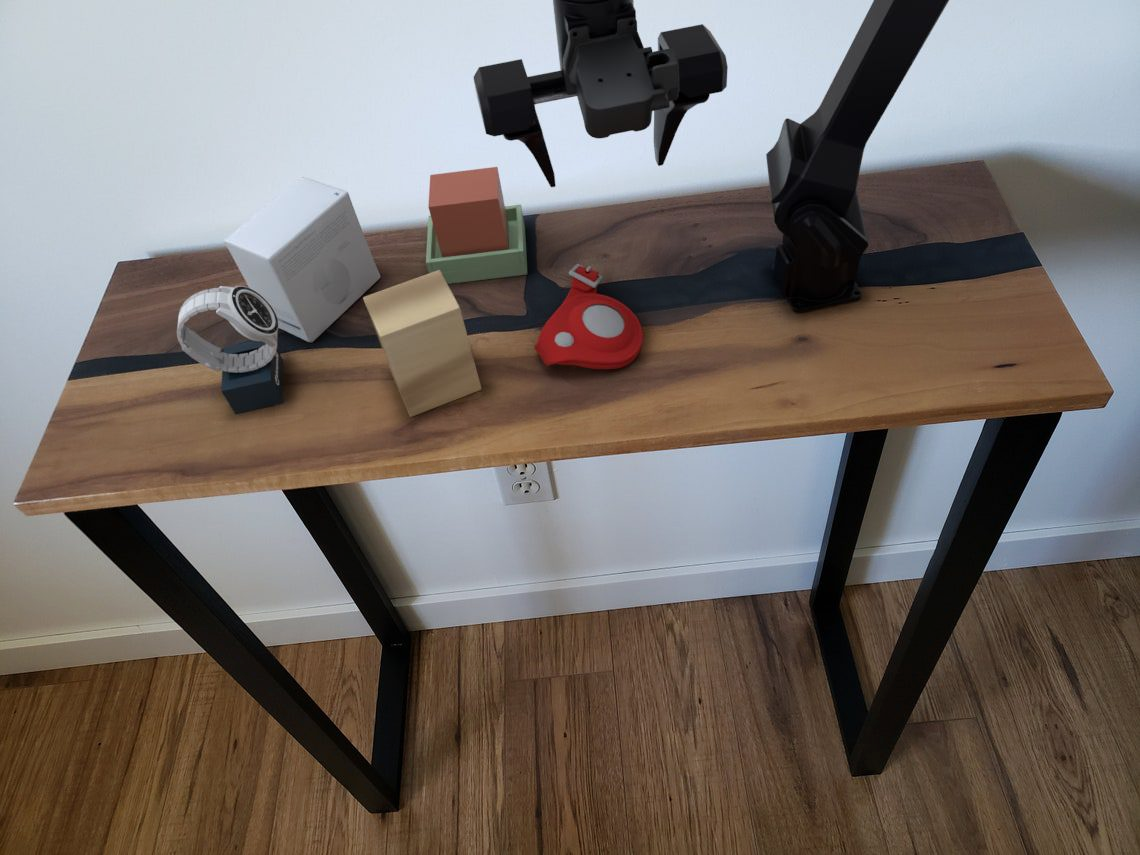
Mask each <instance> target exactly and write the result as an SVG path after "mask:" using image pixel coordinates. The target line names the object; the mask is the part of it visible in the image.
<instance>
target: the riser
mask: <svg viewBox="0 0 1140 855" xmlns="http://www.w3.org/2000/svg"><path fill="white" fill-rule="evenodd" d="M362 299H363V302H364V305H365V307H366V310H367V312H368V316H369V318H370V321H371V323H372V325H373V326H372V327H373V329H374V331H375V334H376V336H377V338H378V341H379V344H380V346H381V349H382V352H383V355H384V357H385V360H386V362H387V365H388V368H389V370H390V372H391V376H392V378H393V380H394V382H395V385H396V388H397V389H398V392H399V394H400V397H401V399H402V401H403V404H404V406H405V408H406V411H407V413H408V416H409V418H413V417H416V416H418V415H421V414H422V413H425V412H427V411H431V410H433V409H436V408H438V407H440V406H443V405H446V404H449V403H451V402H453V401H457V400H459V399H461V398H464V397H467V396H469V395H472V394H475V393H477V392H479V391H482V388H483V387H482V386H481V385H482V384H481V381H480V377H479V374H478V369H477V367H476V366H477V365H476V362H475V359H474V355H473V352H472V347H471V344H470V339H469V337H468V332H467V328H466V325H465V322H464V318H463V313H462V310H461V307H460V304H459V303H458V300H457V299H456V297H455V296H454V293H453V291H452V290H451V288H450V286H449V284H447V282H446V281H445V279H444V277H443V275H442V273H441V271H440V270H437V271H435V272H432V273H429V272H428V273H426V274H424V275H420V276H418V277H415V278H413V279H409V280H407V281H404V282H401V283H398V284H396V285H393V286H390V287H387V288H385V289H382V290H379V291H377V292H374V293H371V294H368V295H366V296H363V298H362Z"/></svg>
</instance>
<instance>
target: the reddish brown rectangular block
mask: <svg viewBox="0 0 1140 855" xmlns="http://www.w3.org/2000/svg"><path fill="white" fill-rule="evenodd" d="M505 206H506V205H505V199H504V194H503V190H502V184H501V178H500V173H499V168H498V166H493V167H484V168H483V167H482V168H476V169H468V170H458V171H451V172H444V173H435V174H430V175H429V190H428V210H429V216H431V218H432V222H433V226H434V229H435V233H436V237H437V241H438V244H439V248H440V252H441V255H442V258H443V257H451V256H460V255H468V254H476V253H485V252H493V251H501V250H509V228H508V220H507V215H506V210H505Z"/></svg>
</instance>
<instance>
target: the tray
mask: <svg viewBox="0 0 1140 855" xmlns="http://www.w3.org/2000/svg"><path fill="white" fill-rule="evenodd" d="M522 208H523V207H522V204H513V205H505V210H506V215H507V220H508V228H509V250H501V251H493V252H485V253H476V254H468V255H460V256H451V257H443V258H442V255H441V252H440V248H439V244H438V241H437V237H436V233H435V229H434V226H433V222H432V218H431V215H428V216H427V217H428V218H427V233H426V251H425V252H426V253H425V265H426V270H427V272H428V274H429V273H432V272H435V271H437V270H440V271H441V273H442V275H443V277H444V279H445V281H446V282H447V284H448V285H452V284H459V283H466V282H467V283H469V282H476V281H484V280H492V279H493V280H494V279H500V278H508V277H519V276H525V275H526V276H527V275H528V273H529V272H528V258H527V256H528V255H527V241H526V240H527V238H526V225H525V219H524V213H523V209H522Z"/></svg>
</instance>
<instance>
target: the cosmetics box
mask: <svg viewBox="0 0 1140 855" xmlns="http://www.w3.org/2000/svg"><path fill="white" fill-rule="evenodd" d="M363 231H364V230H363V229H362V226H361V224H360V221H359V218H358V215H357V213H356V210H355V208H354V206H353V202H352V199H351V196H350V194H349V191H347V190H344V189H341V188H338V187H335V186H332V185H330V184H326V183H323V182H321V181H317V180H315V179H311V178H309V177H304V176H302V177H300V178H299V179H298V180H297V181H295V182H294V183H293V184H292V185H291V186H289V187H288V188H287V189H285V190H284V191H283V192H282V193H281V194H280V195H278V196H277V197H276V198H274V199H273V200H272V201H271V202H269V204H267V205H265V206H264V208H262V209H261V210H259V212H257V213H256V214H255V215H253V216H252V217H250V219H248V220H247V221H246V222H245V223H243V224H242V225H241V226H240V227H238V228H237V229H236V230H234V232H232V233H231V234H230V235H228V236H227V237H226V238H225V239H223V242H224V245H225V246H226V248H227V249H228V251H229V254H230V255H231V257H232V259H233V261H234V262H235V264H236V266H237V268H238V270H239V273H241V275H242V277H243V279H244V281H245V283H246V285H247V287H248V288H250V289H253V290H254V291H256V292H257V293H259V294H260V295H261V296H262V297H263V298H264V299H266V300H267V302H268V303H269V304H270V305H271V307H272V308H273V310H274V311H275V313H276V316H277V318H278V324H279V327H278V329H280V330H282V331H285V332H287V333H289V334H291V335H293V336H294V337H296V338H300V339H301V340H303V341H305V342H307V343H313V342H314V341H316V340H317V339H318V338H319V337H320V336H321V335H322V334H323V333H324V332H325V331H326V330H327V329H328V328H330V327H331V325H333V324H334V322H335V321H337V320H338V319H339V318H340V317H341V316H342V315H343V314H344V313H345V312H346V311H347V310H348V309H349V308H350V307H351V306H352V305H354V304H355V302H357V301H358V300H359V299H360V298H361V297H362V296H363V295H364V294H365V293H366V292H367V291H368V290H369V289H370V288H371V287H372V286H373V285H374V284H376V283H377V282H378V281H379V280H380V279H381V274H380V272H379V269H378V267H377V264H376V262H375V260H374V256H373V255H372V252H371V249H370V247H369V244H368V241H367V239H366V237H365V234H364V232H363Z"/></svg>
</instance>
